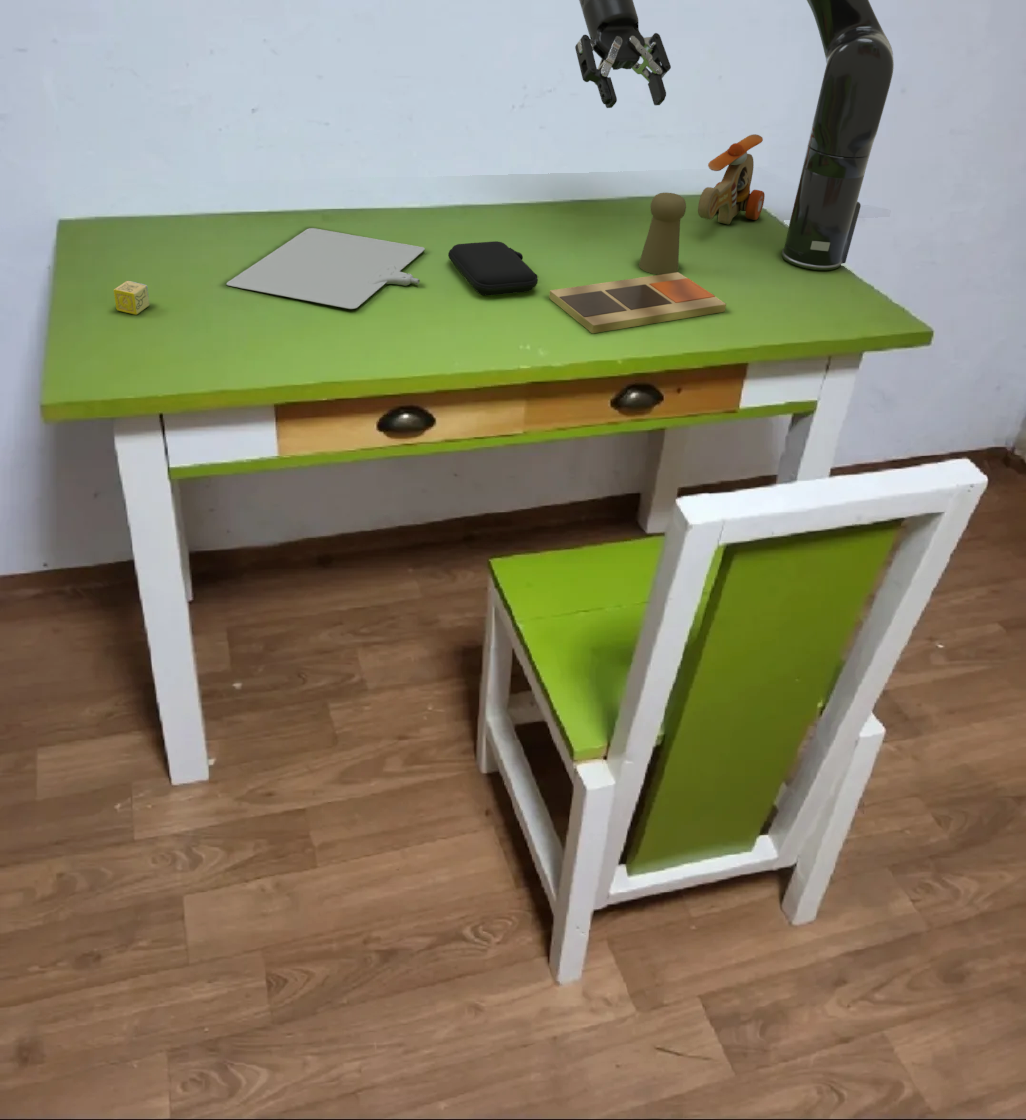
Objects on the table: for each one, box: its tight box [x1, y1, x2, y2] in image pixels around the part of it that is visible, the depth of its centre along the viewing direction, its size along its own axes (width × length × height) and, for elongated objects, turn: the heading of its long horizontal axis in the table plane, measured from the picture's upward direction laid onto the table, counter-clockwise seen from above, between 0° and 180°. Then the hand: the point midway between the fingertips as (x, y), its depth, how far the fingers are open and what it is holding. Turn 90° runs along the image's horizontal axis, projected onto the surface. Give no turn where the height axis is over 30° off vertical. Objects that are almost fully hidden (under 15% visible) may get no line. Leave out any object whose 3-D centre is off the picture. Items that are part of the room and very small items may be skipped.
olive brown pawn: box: [638, 192, 687, 275], centre depth 158 cm, size 6×6×11 cm
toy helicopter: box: [697, 134, 766, 225], centre depth 175 cm, size 8×21×14 cm, turn 150°
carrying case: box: [447, 240, 539, 297], centre depth 153 cm, size 11×3×15 cm
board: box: [548, 271, 727, 334], centre depth 149 cm, size 22×12×1 cm, turn 117°
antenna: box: [226, 227, 426, 310], centre depth 152 cm, size 25×24×1 cm
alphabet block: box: [113, 280, 150, 316], centre depth 136 cm, size 3×3×3 cm
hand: (636, 103), depth 157 cm, fingers open, 8 cm apart
